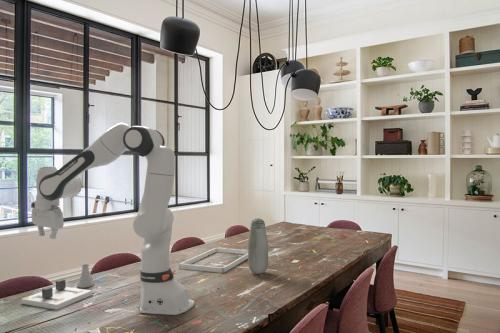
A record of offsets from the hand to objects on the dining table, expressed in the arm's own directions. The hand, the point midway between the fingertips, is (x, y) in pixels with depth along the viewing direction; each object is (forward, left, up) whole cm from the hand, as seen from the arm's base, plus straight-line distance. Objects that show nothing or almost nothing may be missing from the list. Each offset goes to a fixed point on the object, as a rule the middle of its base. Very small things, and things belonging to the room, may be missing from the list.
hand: (47, 237), depth 161 cm
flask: (0, -20, -27) cm, 33 cm away
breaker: (+1, -7, -24) cm, 25 cm away
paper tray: (-39, -81, -27) cm, 94 cm away
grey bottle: (-70, -65, -27) cm, 99 cm away
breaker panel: (-3, -2, -27) cm, 27 cm away
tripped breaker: (-3, +3, -24) cm, 25 cm away
